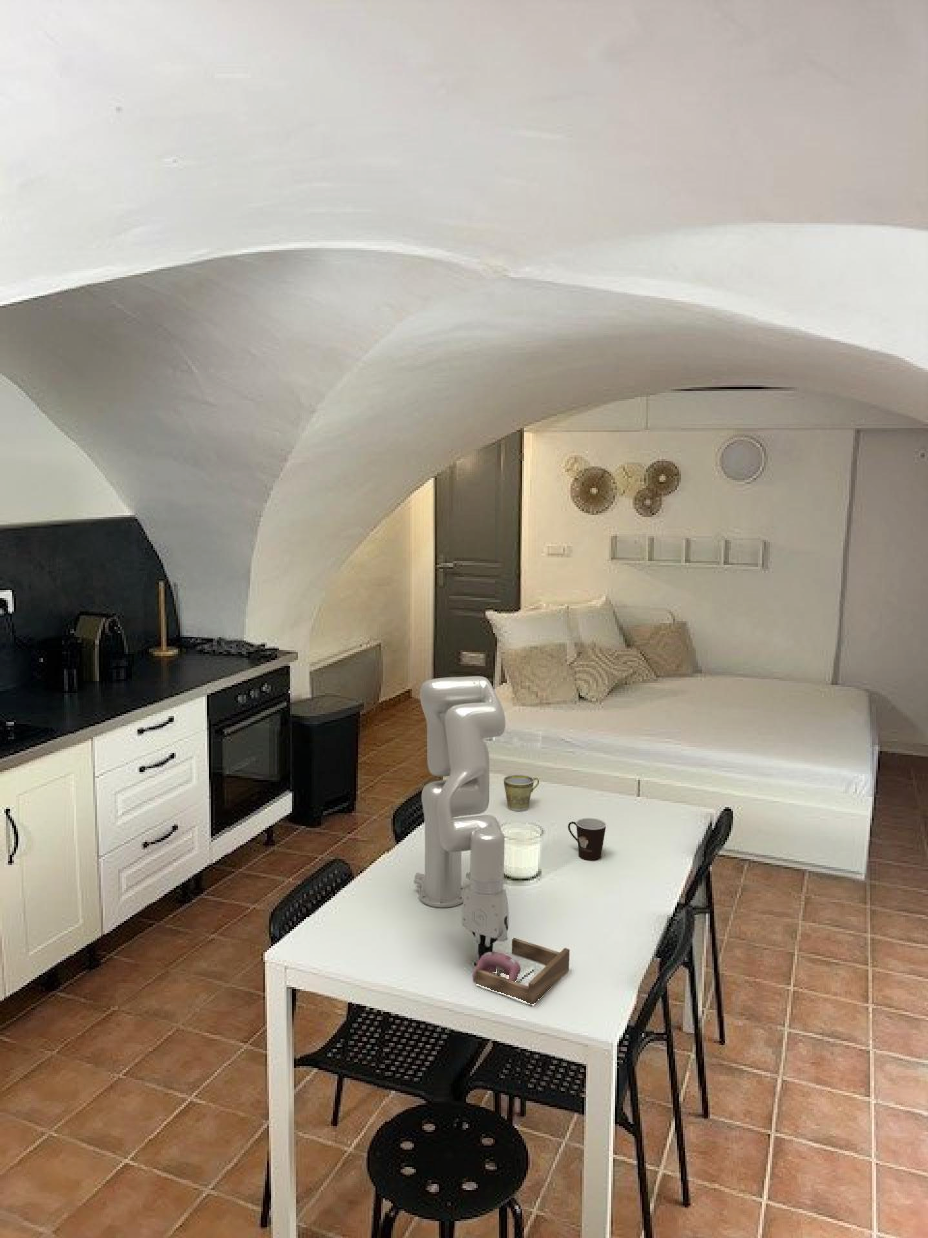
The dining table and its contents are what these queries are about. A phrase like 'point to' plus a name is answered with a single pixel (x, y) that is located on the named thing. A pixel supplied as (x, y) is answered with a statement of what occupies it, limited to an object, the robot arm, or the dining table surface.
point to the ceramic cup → (519, 791)
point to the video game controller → (498, 964)
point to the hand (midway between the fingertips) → (485, 958)
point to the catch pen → (540, 982)
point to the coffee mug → (589, 837)
